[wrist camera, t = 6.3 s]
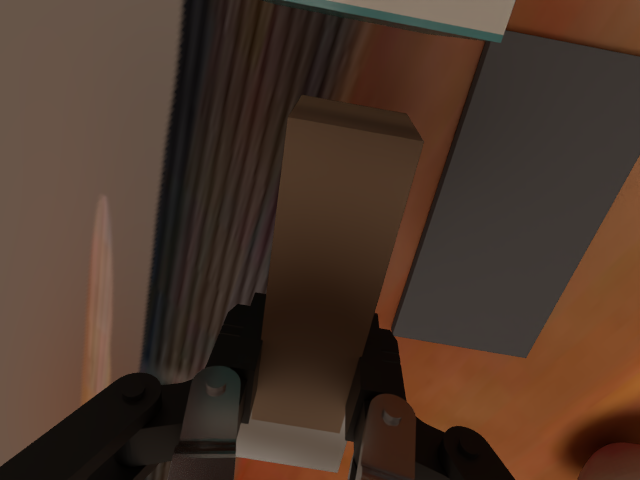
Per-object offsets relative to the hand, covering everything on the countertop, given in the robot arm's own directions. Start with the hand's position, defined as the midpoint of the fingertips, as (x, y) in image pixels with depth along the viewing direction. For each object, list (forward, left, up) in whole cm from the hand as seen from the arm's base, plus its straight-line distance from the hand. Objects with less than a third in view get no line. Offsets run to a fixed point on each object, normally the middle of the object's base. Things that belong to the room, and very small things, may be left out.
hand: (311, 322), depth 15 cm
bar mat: (-12, -1, -12) cm, 17 cm away
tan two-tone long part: (0, 0, -1) cm, 1 cm away
